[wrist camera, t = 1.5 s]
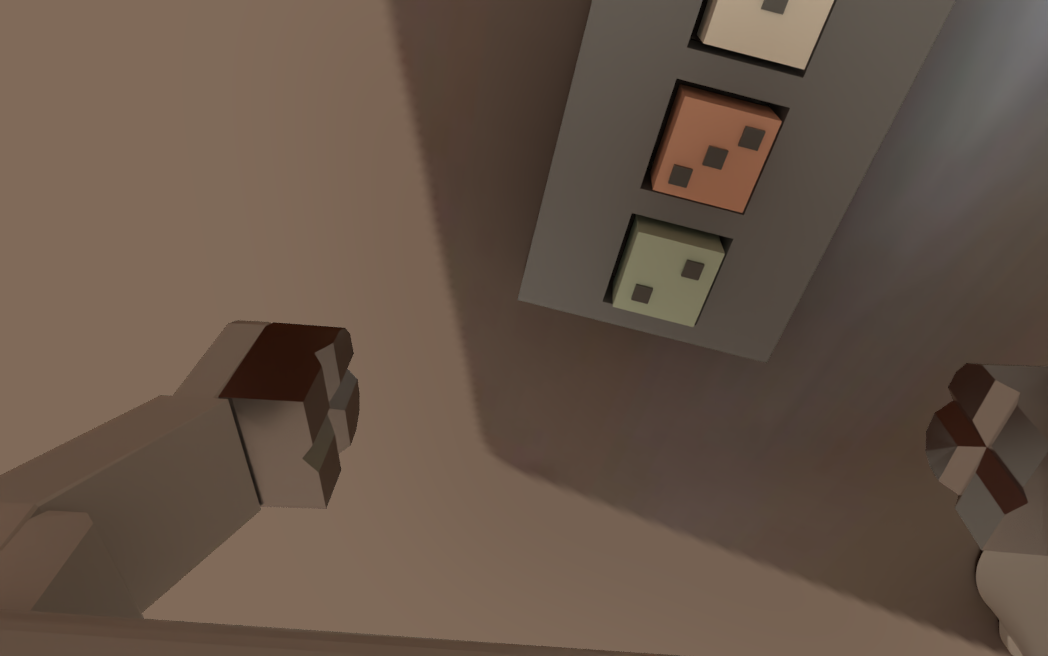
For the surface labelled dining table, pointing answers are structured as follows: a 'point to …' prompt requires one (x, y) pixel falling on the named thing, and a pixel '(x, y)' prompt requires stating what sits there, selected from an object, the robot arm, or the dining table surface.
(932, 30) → the button panel
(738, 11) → the button one
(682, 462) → the dining table surface
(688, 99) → the button three
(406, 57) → the dining table surface
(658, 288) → the button two
